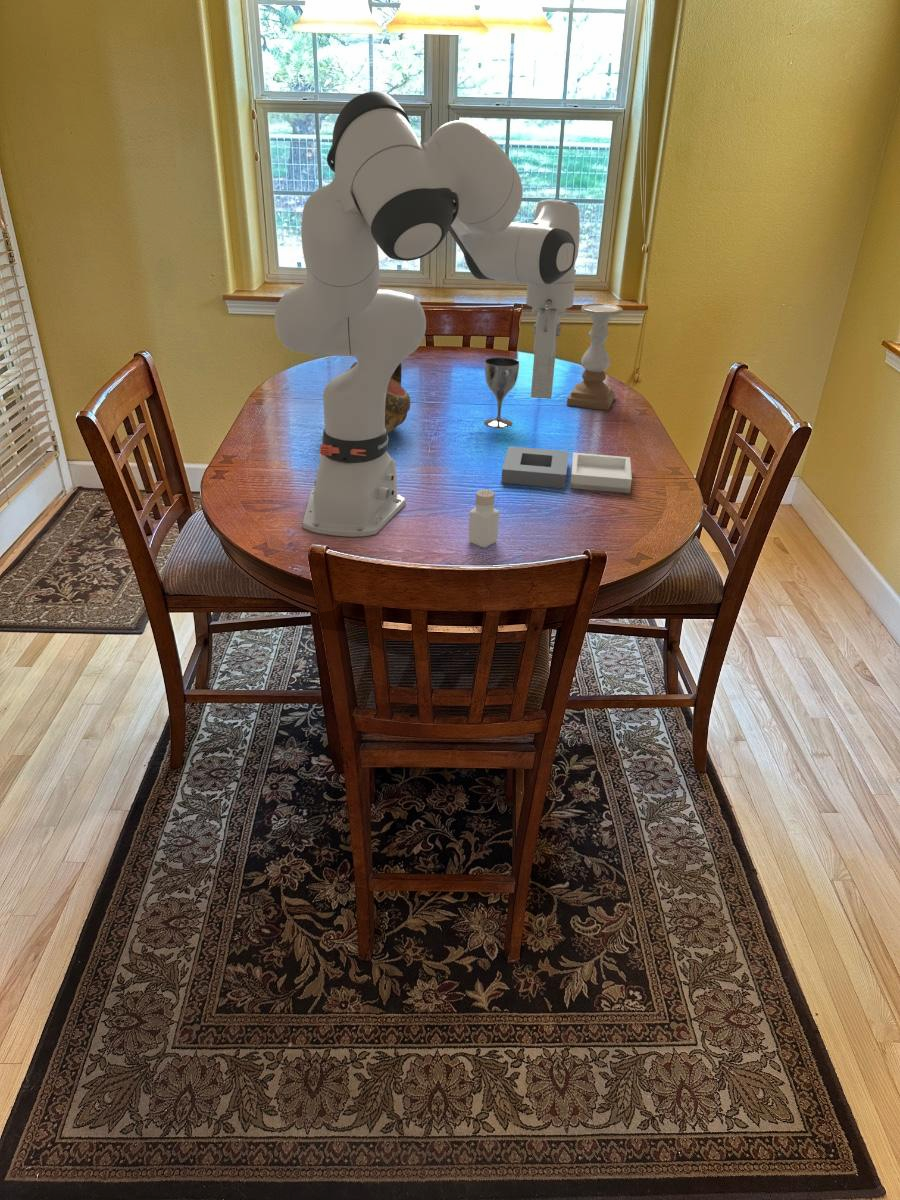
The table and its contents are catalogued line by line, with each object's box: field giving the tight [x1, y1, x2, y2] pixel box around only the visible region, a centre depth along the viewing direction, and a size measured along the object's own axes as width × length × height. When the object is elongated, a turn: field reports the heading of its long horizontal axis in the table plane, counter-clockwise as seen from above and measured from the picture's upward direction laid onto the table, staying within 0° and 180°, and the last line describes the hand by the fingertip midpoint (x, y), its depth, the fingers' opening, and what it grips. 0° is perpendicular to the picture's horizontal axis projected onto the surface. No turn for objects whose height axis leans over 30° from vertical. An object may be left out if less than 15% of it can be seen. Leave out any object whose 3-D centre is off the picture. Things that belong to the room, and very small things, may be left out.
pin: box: [530, 323, 562, 400], centre depth 157 cm, size 5×5×14 cm
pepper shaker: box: [467, 488, 500, 548], centre depth 140 cm, size 4×4×10 cm
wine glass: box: [483, 356, 520, 429], centre depth 191 cm, size 8×8×15 cm
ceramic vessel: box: [345, 361, 412, 435], centre depth 179 cm, size 17×26×25 cm, turn 161°
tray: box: [569, 452, 633, 494], centre depth 167 cm, size 12×12×3 cm
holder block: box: [501, 446, 570, 489], centre depth 168 cm, size 13×13×3 cm
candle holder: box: [566, 302, 624, 411], centre depth 204 cm, size 11×11×24 cm
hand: (543, 369), depth 158 cm, fingers closed on pin, 4 cm apart
